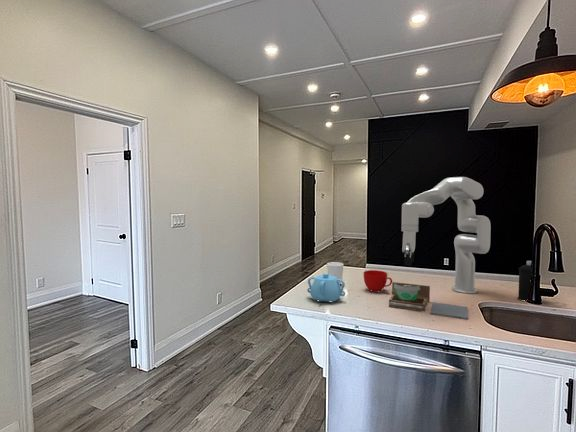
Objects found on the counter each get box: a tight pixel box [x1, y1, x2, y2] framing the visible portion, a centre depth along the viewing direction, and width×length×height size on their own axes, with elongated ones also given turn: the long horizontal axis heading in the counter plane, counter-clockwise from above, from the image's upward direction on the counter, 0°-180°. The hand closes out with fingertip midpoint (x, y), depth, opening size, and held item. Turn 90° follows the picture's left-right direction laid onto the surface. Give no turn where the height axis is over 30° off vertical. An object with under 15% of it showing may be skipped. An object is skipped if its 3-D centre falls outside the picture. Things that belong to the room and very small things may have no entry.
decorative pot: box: [306, 272, 346, 302], centre depth 167 cm, size 16×16×14 cm
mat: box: [429, 301, 469, 321], centre depth 149 cm, size 16×15×1 cm
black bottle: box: [517, 260, 532, 301], centre depth 163 cm, size 8×8×20 cm
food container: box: [394, 284, 420, 303], centre depth 157 cm, size 12×6×10 cm, turn 79°
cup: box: [326, 261, 344, 285], centre depth 195 cm, size 10×10×13 cm
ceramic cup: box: [363, 269, 393, 292], centre depth 181 cm, size 13×17×10 cm
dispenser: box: [388, 281, 431, 312], centre depth 159 cm, size 17×18×8 cm
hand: (409, 263), depth 156 cm, fingers open, 9 cm apart
